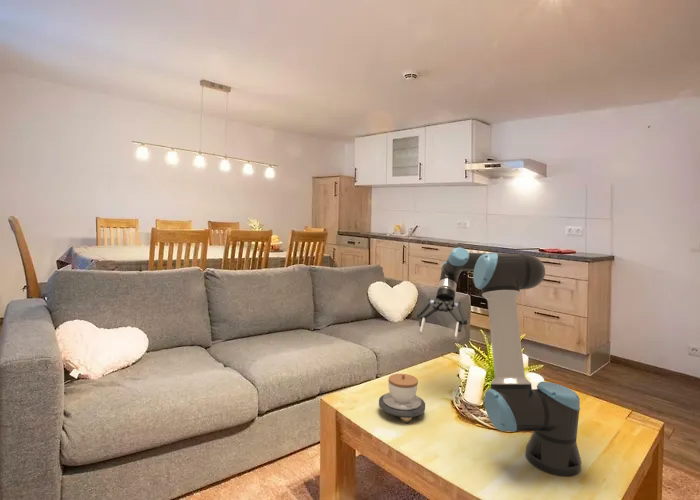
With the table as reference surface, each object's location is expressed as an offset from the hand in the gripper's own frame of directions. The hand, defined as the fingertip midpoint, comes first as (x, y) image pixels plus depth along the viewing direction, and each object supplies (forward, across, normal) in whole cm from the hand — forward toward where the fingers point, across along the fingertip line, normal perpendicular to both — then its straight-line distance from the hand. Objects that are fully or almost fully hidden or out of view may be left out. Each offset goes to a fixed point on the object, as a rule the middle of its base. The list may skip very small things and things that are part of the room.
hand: (438, 335), depth 165 cm
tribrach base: (+30, +9, -6) cm, 32 cm away
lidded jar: (+27, +9, -3) cm, 29 cm away
